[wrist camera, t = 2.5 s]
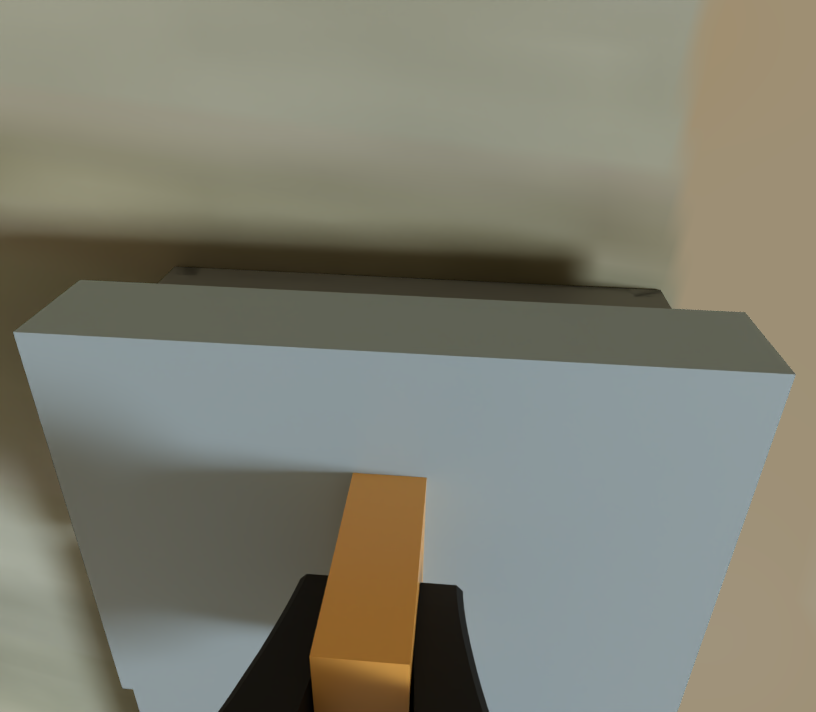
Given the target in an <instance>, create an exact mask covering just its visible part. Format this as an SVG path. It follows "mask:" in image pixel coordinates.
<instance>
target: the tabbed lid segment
mask: <svg viewBox="0 0 816 712" xmlns="http://www.w3.org/2000/svg"><path fill="white" fill-rule="evenodd" d="M13 334H14V337H15V340H16V343H17V347H18V350H19V353H20V356H21V360H22V363H23V366H24V369H25V373H26V376H27V379H28V382H29V386H30V389H31V392H32V395H33V399H34V402H35V405H36V408H37V412H38V415H39V418H40V422H41V425H42V428H43V431H44V435H45V438H46V441H47V444H48V448H49V451H50V454H51V457H52V461H53V464H54V467H55V470H56V474H57V477H58V480H59V483H60V487H61V490H62V493H63V496H64V500H65V503H66V506H67V510H68V513H69V516H70V519H71V523H72V526H73V529H74V532H75V536H76V539H77V542H78V545H79V549H80V552H81V555H82V558H83V562H84V565H85V568H86V571H87V575H88V578H89V581H90V584H91V588H92V591H93V594H94V597H95V601H96V604H97V607H98V611H99V614H100V617H101V620H102V624H103V627H104V630H105V633H106V637H107V640H108V643H109V646H110V650H111V653H112V656H113V659H114V663H115V666H116V669H117V672H118V676H119V679H120V682H121V685H122V688H125V689H136V690H147V691H159V692H170V693H182V694H193V695H205V696H216V697H227V698H228V697H229V695H230V694H231V693H232V691H233V690H234V688H235V687H236V685H237V684H238V682H239V680H240V679H241V677H242V676H243V674H244V673H245V671H246V670H247V668H248V667H249V665H250V664H251V662H252V661H253V659H254V658H255V656H256V655H257V653H258V652H259V650H260V649H261V647H262V645H263V644H264V642H265V641H266V639H267V637H268V636H269V634H270V632H271V631H272V629H273V628H274V626H275V624H276V622H277V621H278V619H279V617H280V616H281V614H282V612H283V610H284V609H285V607H286V605H287V603H288V601H289V599H290V598H291V596H292V594H293V592H294V590H295V588H296V586H297V584H298V582H299V580H300V578H302V577H303V576H305V575H306V574H316V575H329V576H328V580H327V584H326V589H325V593H324V597H323V601H322V605H321V610H320V614H319V618H318V622H317V627H316V631H315V635H314V639H313V643H312V648H311V652H310V656H309V658H310V670H311V681H312V693H313V705H314V712H411V710H412V679H413V650H414V639H415V629H416V618H417V608H418V597H419V588H420V582H422V583H435V584H448V585H457V586H458V587H459V588H460V589H461V590H462V591H463V602H464V610H465V617H466V623H467V629H468V634H469V639H470V644H471V648H472V652H473V656H474V660H475V665H476V669H477V673H478V676H479V680H480V683H481V687H482V690H483V694H484V697H485V700H486V703H487V707H488V710H489V712H677V711H678V708H679V705H680V703H681V700H682V697H683V694H684V691H685V688H686V685H687V683H688V680H689V677H690V674H691V671H692V668H693V666H694V663H695V660H696V657H697V654H698V651H699V648H700V646H701V642H702V640H703V637H704V634H705V631H706V629H707V626H708V623H709V620H710V617H711V614H712V611H713V608H714V606H715V603H716V600H717V597H718V594H719V591H720V589H721V586H722V583H723V580H724V577H725V574H726V571H727V569H728V566H729V563H730V560H731V557H732V554H733V552H734V549H735V546H736V543H737V540H738V537H739V534H740V531H741V529H742V526H743V523H744V520H745V517H746V514H747V512H748V509H749V506H750V503H751V500H752V497H753V495H754V492H755V489H756V486H757V483H758V480H759V477H760V475H761V472H762V469H763V466H764V463H765V460H766V458H767V455H768V452H769V449H770V446H771V443H772V440H773V438H774V435H775V432H776V429H777V426H778V423H779V420H780V418H781V415H782V412H783V409H784V406H785V403H786V400H787V398H788V395H789V392H790V389H791V386H792V384H793V381H794V378H795V373H794V372H793V371H792V369H791V368H790V367H789V366H788V365H787V363H786V362H785V361H784V360H783V358H782V357H781V356H780V355H779V353H778V352H777V351H776V350H775V349H774V347H773V346H772V345H771V344H770V342H769V341H768V340H767V339H766V338H765V336H764V335H763V334H762V333H761V331H760V330H759V329H758V328H757V326H756V325H755V324H754V323H753V322H752V320H751V319H750V318H749V317H748V315H747V314H746V313H745V312H725V311H703V310H685V309H665V308H644V307H624V306H603V305H583V304H563V303H542V302H522V301H501V300H481V299H461V298H440V297H420V296H399V295H379V294H358V293H338V292H318V291H297V290H277V289H256V288H236V287H216V286H195V285H175V284H154V283H134V282H114V281H93V280H79V281H78V282H77V283H75V284H74V285H73V286H71V287H70V288H69V289H68V290H66V291H65V292H64V293H62V294H61V295H60V296H59V297H57V298H56V299H55V300H53V301H52V302H51V303H50V304H48V305H47V306H46V307H45V308H43V309H42V310H41V311H39V312H38V313H37V314H36V315H34V316H33V317H32V318H30V319H29V320H28V321H27V322H25V323H24V324H23V325H21V326H20V327H19V328H18V329H16V330H15V331H14V332H13Z"/></svg>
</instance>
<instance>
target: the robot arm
mask: <svg viewBox="0 0 816 712" xmlns="http://www.w3.org/2000/svg"><path fill="white" fill-rule="evenodd" d="M328 576H329V575H316V574H306V575H305V576H303V577H302V578H300V580H299V582H298V584H297V586H296V588H295V590H294V592H293V594H292V596H291V598H290V599H289V601H288V603H287V605H286V607H285V609H284V610H283V612H282V614H281V616H280V617H279V619H278V621H277V622H276V624H275V626H274V628H273V629H272V631H271V632H270V634H269V636H268V637H267V639H266V641H265V642H264V644H263V645H262V647H261V649H260V650H259V652H258V653H257V655H256V656H255V658H254V659H253V661H252V662H251V664H250V665H249V667H248V668H247V670H246V671H245V673H244V674H243V676H242V677H241V679H240V680H239V682H238V684H237V685H236V687H235V688H234V690H233V691H232V693H231V694H230V695H229V697H228V698H227V700H226V701H225V703H224V704H223V705H222V707H221V708H220V710H219V711H218V712H314V705H313V693H312V681H311V670H310V658H309V656H310V652H311V648H312V643H313V639H314V635H315V631H316V627H317V622H318V618H319V614H320V610H321V605H322V601H323V597H324V593H325V589H326V584H327V580H328ZM411 712H489V710H488V707H487V703H486V700H485V697H484V694H483V690H482V687H481V683H480V680H479V676H478V673H477V669H476V665H475V660H474V656H473V652H472V648H471V644H470V639H469V634H468V629H467V623H466V617H465V610H464V602H463V591H462V590H461V589H460V588H459V587H458V586H457V585H448V584H435V583H422V582H420V588H419V597H418V608H417V618H416V629H415V639H414V650H413V679H412V710H411Z"/></svg>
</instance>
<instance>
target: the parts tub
mask: <svg viewBox="0 0 816 712" xmlns="http://www.w3.org/2000/svg"><path fill="white" fill-rule="evenodd" d="M158 284H175V285H195V286H216V287H236V288H256V289H277V290H297V291H318V292H338V293H358V294H379V295H399V296H420V297H440V298H461V299H481V300H501V301H522V302H542V303H563V304H583V305H603V306H624V307H644V308H665V309H671V307H670V305H669V304H668V302H667V300H666V299H665V297H664V295H663V294H662V292H661V290H647V289H627V288H606V287H585V286H564V285H544V284H523V283H502V282H481V281H461V280H440V279H419V278H398V277H378V276H357V275H336V274H315V273H295V272H274V271H253V270H232V269H212V268H191V267H174V268H173V269H172V270H171V271H170V272H169V273H168V274H167V275H166V276H165V277H164V278H163V279H162V280H161V281H160V282H159V283H158Z"/></svg>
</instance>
